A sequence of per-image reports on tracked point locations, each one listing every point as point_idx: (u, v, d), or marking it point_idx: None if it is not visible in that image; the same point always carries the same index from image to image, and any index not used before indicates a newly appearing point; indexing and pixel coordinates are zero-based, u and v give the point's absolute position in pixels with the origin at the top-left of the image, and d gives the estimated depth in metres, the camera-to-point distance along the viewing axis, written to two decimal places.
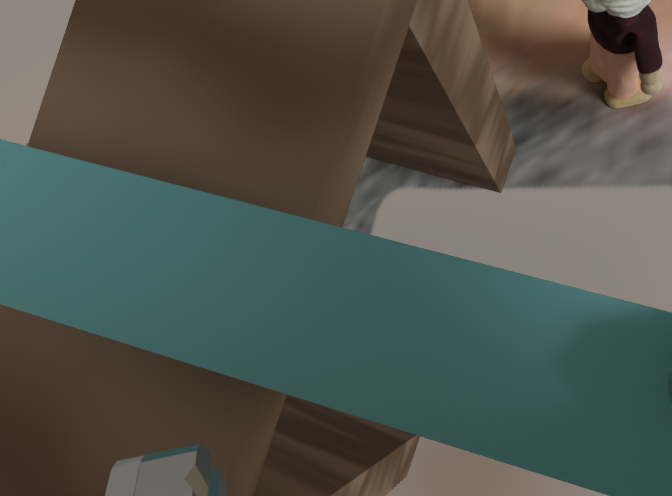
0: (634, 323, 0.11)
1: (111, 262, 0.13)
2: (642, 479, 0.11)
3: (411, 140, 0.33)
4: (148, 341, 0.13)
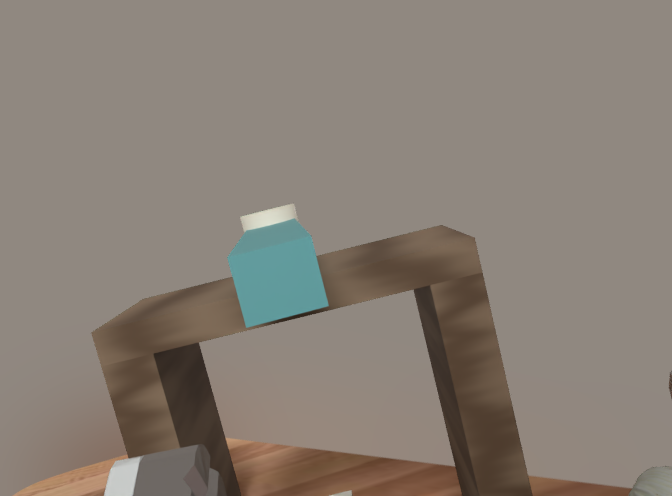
0: None
1: (267, 230, 0.38)
2: (239, 252, 0.27)
3: None
4: (243, 237, 0.36)
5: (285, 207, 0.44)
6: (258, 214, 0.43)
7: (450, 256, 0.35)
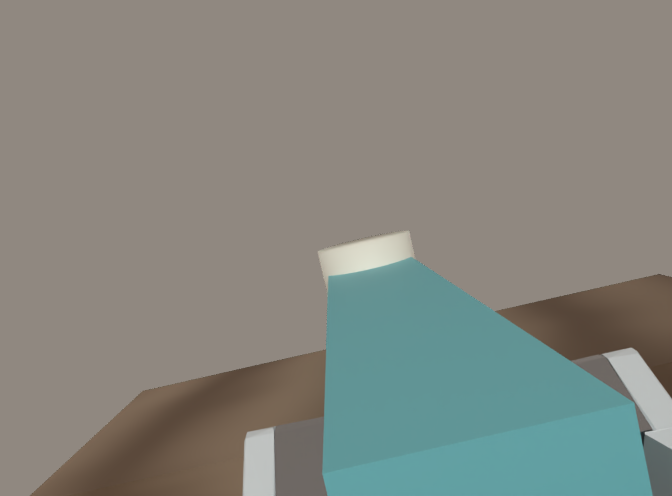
0: (542, 365, 0.09)
1: (377, 289, 0.19)
2: (358, 427, 0.08)
3: None
4: (333, 306, 0.18)
5: (397, 238, 0.25)
6: (350, 249, 0.25)
7: None
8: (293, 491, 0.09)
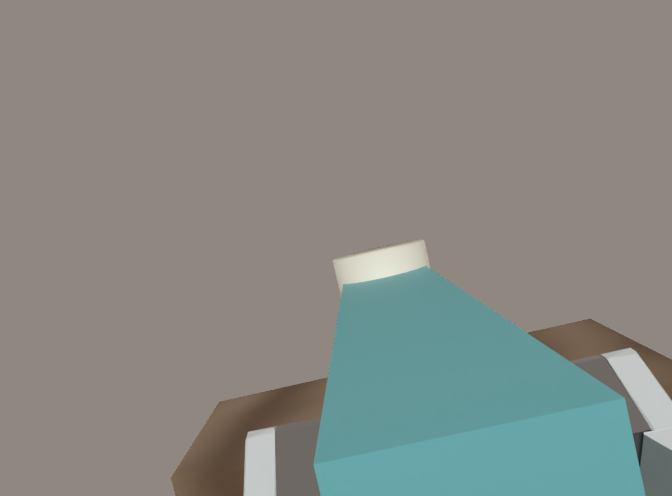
0: (540, 364, 0.09)
1: (388, 296, 0.19)
2: (353, 422, 0.08)
3: None
4: (344, 312, 0.18)
5: (411, 247, 0.25)
6: (365, 258, 0.25)
7: None
8: (294, 490, 0.09)
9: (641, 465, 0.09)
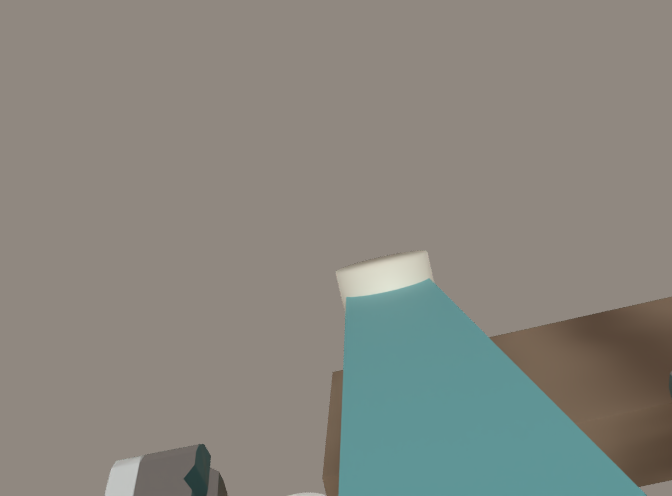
0: (558, 439, 0.09)
1: (394, 319, 0.19)
2: None
3: None
4: (350, 339, 0.18)
5: (415, 260, 0.25)
6: (368, 272, 0.25)
7: None
8: None
9: None
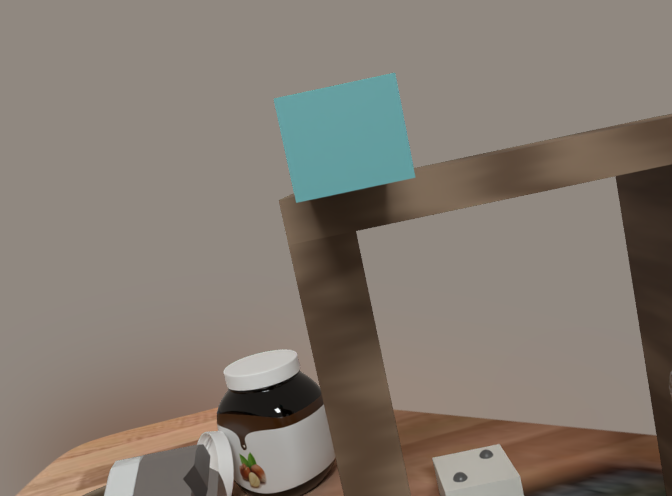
0: None
1: None
2: None
3: None
4: None
5: None
6: None
7: None
8: None
9: None
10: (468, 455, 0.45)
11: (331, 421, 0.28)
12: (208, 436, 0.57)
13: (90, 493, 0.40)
